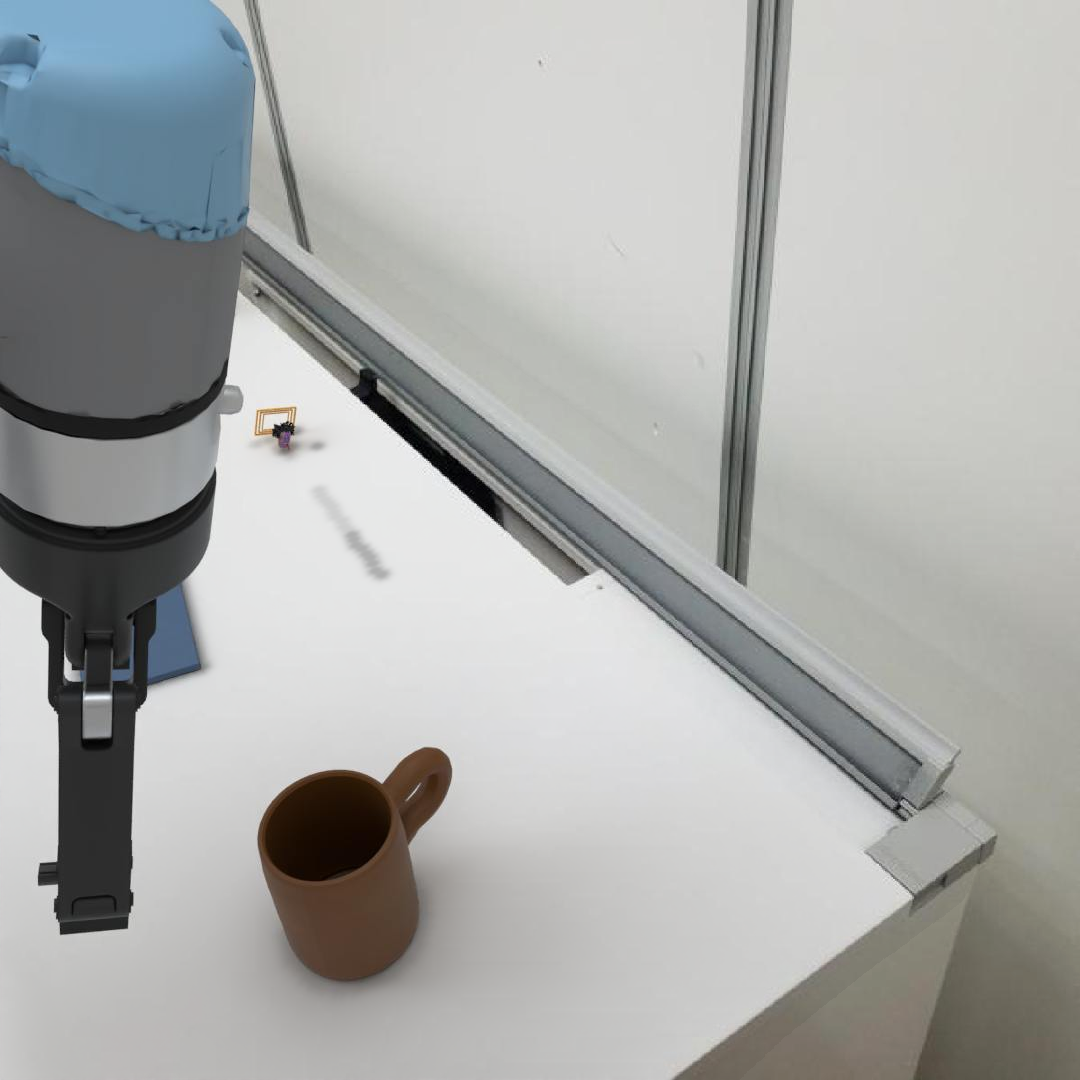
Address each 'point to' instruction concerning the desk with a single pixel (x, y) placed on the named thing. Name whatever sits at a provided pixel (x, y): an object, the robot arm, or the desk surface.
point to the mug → (350, 862)
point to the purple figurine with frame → (278, 426)
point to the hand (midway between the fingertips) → (97, 783)
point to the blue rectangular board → (167, 642)
